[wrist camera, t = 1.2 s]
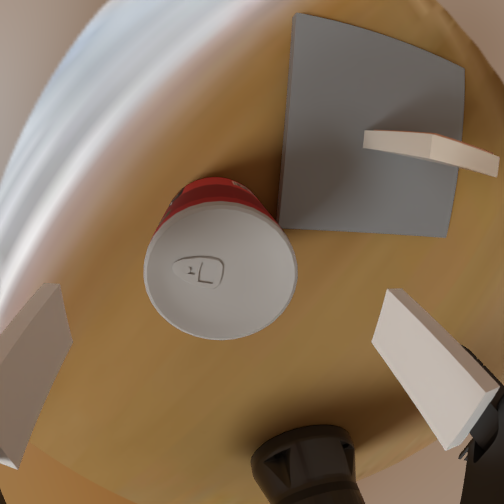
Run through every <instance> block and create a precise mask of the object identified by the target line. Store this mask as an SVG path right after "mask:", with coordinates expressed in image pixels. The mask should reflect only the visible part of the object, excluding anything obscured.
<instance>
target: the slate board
mask: <svg viewBox="0 0 504 504" xmlns="http://www.w3.org/2000/svg"><path fill="white" fill-rule="evenodd" d="M464 93H465V69H464V68H462V67H460V66H458V65H456V64H454V63H452V62H450V61H448V60H446V59H443V58H441V57H439V56H437V55H435V54H432V53H430V52H428V51H425V50H423V49H420V48H418V47H415V46H413V45H410V44H408V43H405V42H402V41H400V40H397V39H394V38H391V37H388V36H385V35H382V34H379V33H376V32H373V31H370V30H367V29H363V28H360V27H356V26H353V25H349V24H345V23H342V22H338V21H334V20H329V19H325V18H321V17H316V16H311V15H306V14H301V13H296V14H295V15H294V16H293V18H292V34H291V48H290V62H289V75H288V88H287V101H286V113H285V125H284V137H283V149H282V160H281V171H280V182H279V192H278V203H277V213H276V222H277V223H278V225H279V226H280V227H281V228H286V229H308V230H329V231H348V232H366V233H383V234H399V235H414V236H429V237H443V238H446V235H447V231H448V226H449V221H450V217H451V211H452V206H453V201H454V195H455V189H456V182H457V176H458V167H453V166H449V165H445V164H440V163H435V162H431V161H426V160H421V159H417V158H412V157H408V156H403V155H398V154H393V153H388V152H383V151H378V150H372V149H366V148H363V141H364V131H365V130H371V131H374V130H395V131H413V132H428V133H437V134H440V135H443V136H446V137H449V138H453V139H456V140H459V141H462V131H463V117H464Z"/></svg>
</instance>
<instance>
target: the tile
mask: <svg viewBox="0 0 504 504" xmlns="http://www.w3.org/2000/svg"><path fill="white" fill-rule="evenodd" d="M363 148H366V149H372V150H378V151H383V152H388V153H393V154H398V155H403V156H408V157H412V158H417V159H421V160H426V161H431V162H435V163H440V164H445V165H449V166H453V167H458V168H462V169H466V170H470V171H474V172H478V173H482V174H486V175H490V176H493V177H497V174H498V166H499V158H500V157H498V156H495V155H493V153H492V152H489V151H487V150H484V149H481V148H478V147H476V146H473V145H470V144H467V143H464V142H462V141H459V140H456V139H453V138H449V137H446V136H443V135H440V134H437V133H428V132H413V131H395V130H374V131H371V130H365V131H364V141H363Z"/></svg>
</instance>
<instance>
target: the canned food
mask: <svg viewBox="0 0 504 504" xmlns="http://www.w3.org/2000/svg"><path fill="white" fill-rule="evenodd" d="M297 278H298V276H297V261H296V257H295V253H294V251H293V248H292V246H291V243H290V241H289V239H288V237H287V235H286V234H285V233H284V232H283V230H282V228H281V227H280V226H279V225H278V223H277V222H276V221H275V219H274V218H273V217H272V216H271V215H270V213H269V212H268V211H267V210H266V208H265V207H264V206H263V205H262V204H261V202H260V201H259V200H258V199H257V197H256V196H255V195H254V194H253V193H252V192H251V191H250V190H249V189H248V188H247V187H245V186H244V185H242V184H240V183H238V182H237V181H234V180H231V179H227V178H221V177H209V178H203V179H200V180H196V181H194V182H192V183H190V184H188V185H186V186H185V187H184V188H183V189H181V190H180V191H179V192H178V193H177V195H176V196H175V197H174V198H173V200H172V202H171V203H170V205H169V207H168V209H167V211H166V212H165V214H164V216H163V218H162V220H161V222H160V223H159V225H158V227H157V229H156V231H155V233H154V235H153V237H152V239H151V241H150V244H149V246H148V248H147V253H146V257H145V263H144V282H145V286H146V291H147V294H148V296H149V298H150V300H151V302H152V304H153V306H154V307H155V308H156V310H157V311H158V312H159V314H160V315H161V316H162V317H163V318H164V319H166V320H167V321H168V322H169V323H170V324H171V325H173V326H175V327H176V328H178V329H179V330H181V331H183V332H186V333H188V334H190V335H193V336H196V337H200V338H205V339H212V340H229V339H237V338H241V337H245V336H248V335H251V334H253V333H255V332H258V331H260V330H262V329H263V328H265V327H266V326H268V325H269V324H271V323H272V322H274V321H275V320H276V319H277V318H278V317H279V316H280V315H281V314H282V313H283V311H284V310H285V309H286V307H287V306H288V304H289V303H290V301H291V298H292V296H293V294H294V292H295V288H296V283H297Z"/></svg>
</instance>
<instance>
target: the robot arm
mask: <svg viewBox="0 0 504 504" xmlns="http://www.w3.org/2000/svg"><path fill="white" fill-rule="evenodd" d="M72 343H73V341H72V337H71V333H70V329H69V325H68V321H67V316H66V312H65V307H64V302H63V298H62V293H61V287H60V284H50V283H44V284H43V285H42V286H41V287H40V288H39V289H38V290H37V291H36V293H35V294H34V295H33V296H32V297H31V298H30V300H29V301H28V302H27V303H26V304H25V305H24V307H23V308H22V309H21V310H20V311H19V313H18V314H17V315H16V316H15V318H14V319H13V320H12V321H11V322H10V324H9V325H8V326H7V327H6V329H5V330H4V331H3V333H2V334H1V335H0V463H1V464H4V465H6V466H9V467H12V468H15V469H19V466H20V463H21V460H22V457H23V454H24V452H25V449H26V446H27V444H28V441H29V439H30V436H31V433H32V431H33V428H34V426H35V423H36V421H37V419H38V416H39V414H40V411H41V409H42V407H43V404H44V402H45V400H46V398H47V395H48V393H49V391H50V389H51V386H52V384H53V382H54V380H55V378H56V376H57V374H58V371H59V369H60V367H61V365H62V363H63V361H64V359H65V357H66V355H67V353H68V351H69V349H70V347H71V345H72ZM372 344H373V345H374V347H375V348H376V349H377V351H378V352H379V354H380V355H381V356H382V358H383V359H384V361H385V362H386V364H387V365H388V366H389V368H390V369H391V371H392V372H393V374H394V375H395V376H396V378H397V379H398V381H399V382H400V384H401V385H402V387H403V388H404V389H405V391H406V392H407V394H408V395H409V397H410V398H411V400H412V401H413V403H414V404H415V406H416V407H417V409H418V410H419V411H420V413H421V414H422V416H423V417H424V419H425V420H426V422H427V423H428V425H429V426H430V428H431V430H432V431H433V433H434V434H435V436H436V437H437V439H438V440H439V441H440V443H441V445H442V446H443V448H444V449H445V451H446V450H449V449H451V448H453V447H455V446H458V445H460V444H461V443H462V442H463V440H464V439H465V438H466V436H467V435H468V434H469V433H470V434H471V435H472V437H473V439H472V440H471V441H470V442H469V443H468V445H467V446H466V448H465V449H464V450H463V451H462V452H461V454H460V455H459V459H461V458H462V457H463V456H464V455H465V453H466V452H468V455H467V457H466V458H465V459H464V460H466V461H467V465H466V472H465V479H464V485H463V491H462V496H461V502H460V504H504V385H503V384H502V383H501V382H500V381H499V380H498V379H497V378H496V377H495V376H494V375H493V374H492V373H491V372H490V371H489V369H488V368H487V367H486V366H483V363H482V362H481V361H480V360H479V359H477V357H476V356H475V355H474V354H473V353H472V352H471V351H470V350H469V349H467V348H466V347H464V346H463V345H461V344H459V343H458V342H457V341H456V340H455V339H454V338H453V337H452V336H451V335H450V334H449V333H448V332H447V331H446V330H445V329H444V328H443V327H442V326H441V325H440V324H439V323H438V322H437V321H436V320H435V319H434V318H432V317H431V316H430V315H429V314H428V313H427V312H426V311H425V310H424V309H423V308H422V307H421V306H420V305H419V304H418V303H417V302H416V301H414V300H413V299H412V298H411V297H410V296H409V295H408V294H407V293H406V292H405V291H404V290H403V289H387V292H386V295H385V299H384V303H383V306H382V310H381V313H380V316H379V320H378V323H377V326H376V330H375V333H374V336H373V339H372ZM251 467H252V473H253V477H254V479H255V481H256V482H257V484H258V485H259V487H260V488H261V490H262V491H263V493H264V495H265V496H266V498H267V499H268V501H269V502H270V504H365V502H364V500H363V497H362V495H361V493H360V490H359V488H358V486H357V483H356V475H355V448H354V444H353V442H352V440H351V438H350V435H349V434H348V432H347V431H346V430H344V429H342V428H340V427H337V426H331V425H316V426H308V427H303V428H299V429H295V430H292V431H289V432H286V433H283V434H281V435H279V436H277V437H275V438H273V439H271V440H269V441H268V442H266V443H265V444H263V445H262V446H261V447H259V448H258V449H257V450H256V452H255V453H254V454H253V456H252V459H251ZM0 504H6V502H5V500H4V497H3V495H2V493H1V490H0Z"/></svg>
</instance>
